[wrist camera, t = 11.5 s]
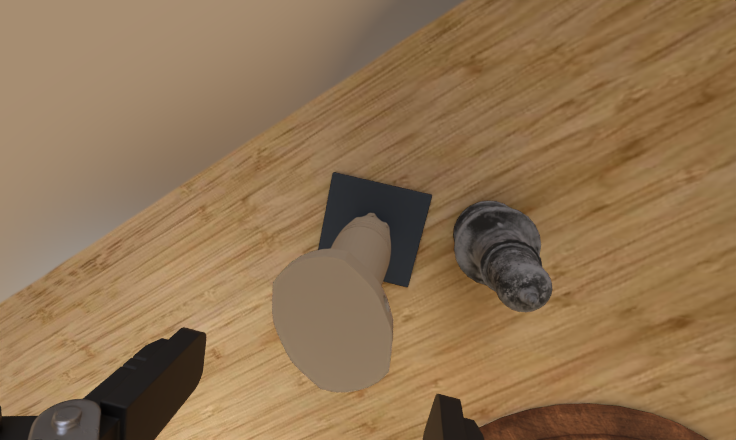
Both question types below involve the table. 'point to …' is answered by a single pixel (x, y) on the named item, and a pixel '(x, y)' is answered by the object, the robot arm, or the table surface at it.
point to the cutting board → (586, 425)
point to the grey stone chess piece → (502, 254)
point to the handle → (338, 309)
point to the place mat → (389, 206)
